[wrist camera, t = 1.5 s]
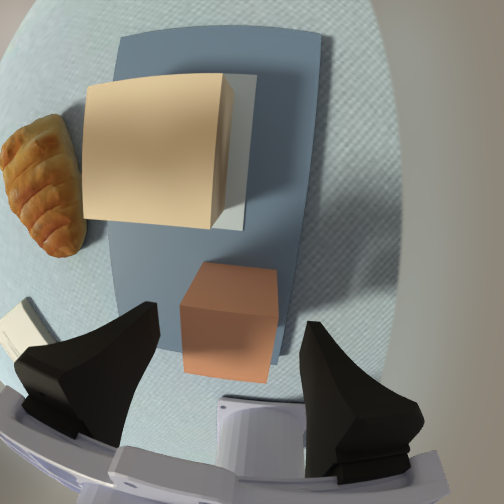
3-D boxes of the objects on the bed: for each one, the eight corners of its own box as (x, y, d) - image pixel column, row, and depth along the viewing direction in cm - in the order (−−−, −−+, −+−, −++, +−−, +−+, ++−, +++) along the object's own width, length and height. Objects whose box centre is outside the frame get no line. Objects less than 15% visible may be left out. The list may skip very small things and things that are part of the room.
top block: (267, 329, 16) (266, 383, 12) (202, 321, 16) (184, 372, 12) (276, 270, 15) (278, 317, 11) (203, 261, 15) (179, 305, 11)
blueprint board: (276, 357, 18) (277, 365, 17) (128, 334, 18) (123, 341, 18) (318, 39, 11) (321, 33, 10) (127, 41, 11) (120, 36, 10)
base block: (224, 209, 14) (210, 229, 10) (119, 202, 14) (84, 218, 11) (234, 92, 12) (222, 73, 8) (124, 96, 12) (87, 86, 8)
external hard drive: (78, 362, 21) (33, 373, 24) (29, 294, 19) (-3, 322, 22) (70, 372, 20) (27, 381, 22) (19, 302, 17) (-11, 328, 20)
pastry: (116, 229, 16) (81, 251, 12) (59, 263, 17) (27, 285, 14) (67, 106, 13) (27, 103, 9) (17, 158, 14) (-18, 166, 11)
